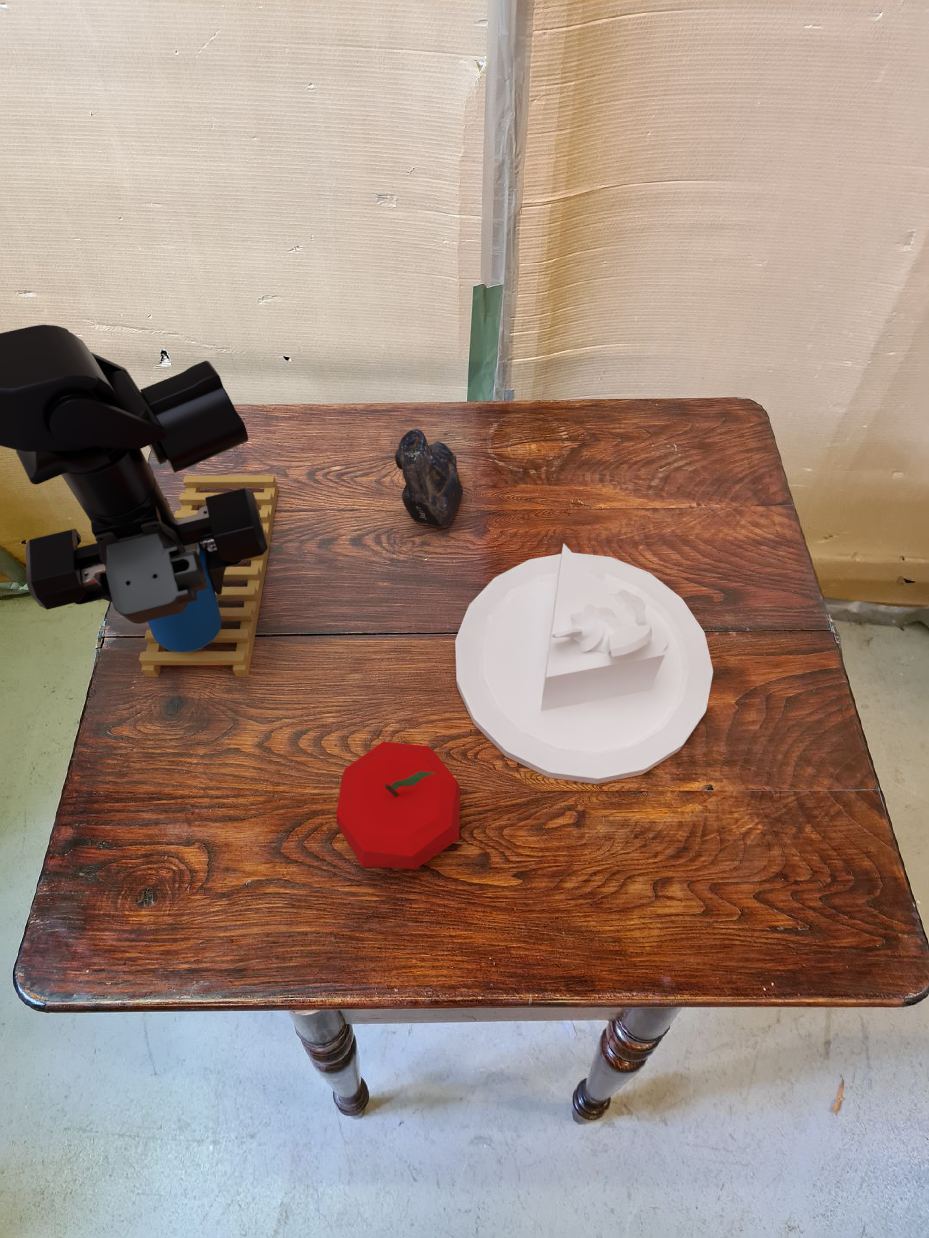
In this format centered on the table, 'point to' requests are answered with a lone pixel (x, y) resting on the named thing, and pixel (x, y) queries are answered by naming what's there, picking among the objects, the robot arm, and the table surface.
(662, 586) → the dish
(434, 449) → the statue
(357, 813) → the apple
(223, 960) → the table surface
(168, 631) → the beverage can
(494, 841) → the table surface
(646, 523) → the table surface
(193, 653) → the rack
